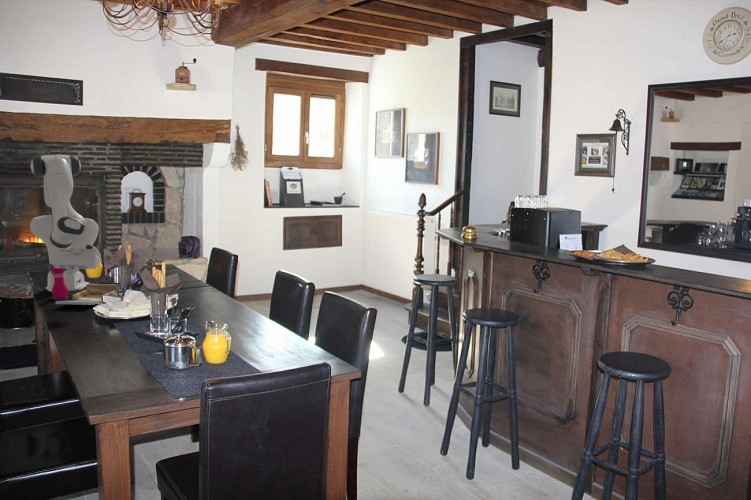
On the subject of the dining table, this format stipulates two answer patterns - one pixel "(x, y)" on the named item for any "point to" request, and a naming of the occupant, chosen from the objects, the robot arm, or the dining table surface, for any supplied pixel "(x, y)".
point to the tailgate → (78, 302)
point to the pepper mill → (59, 284)
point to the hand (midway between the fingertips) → (69, 275)
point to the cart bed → (96, 292)
